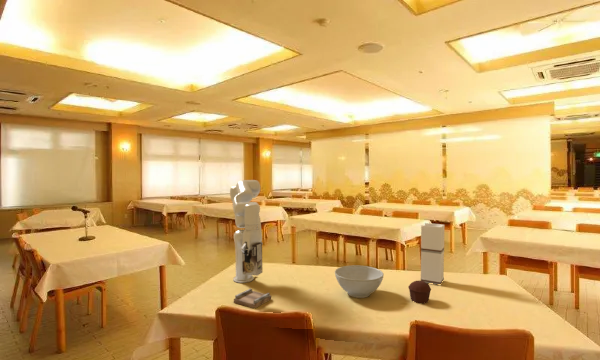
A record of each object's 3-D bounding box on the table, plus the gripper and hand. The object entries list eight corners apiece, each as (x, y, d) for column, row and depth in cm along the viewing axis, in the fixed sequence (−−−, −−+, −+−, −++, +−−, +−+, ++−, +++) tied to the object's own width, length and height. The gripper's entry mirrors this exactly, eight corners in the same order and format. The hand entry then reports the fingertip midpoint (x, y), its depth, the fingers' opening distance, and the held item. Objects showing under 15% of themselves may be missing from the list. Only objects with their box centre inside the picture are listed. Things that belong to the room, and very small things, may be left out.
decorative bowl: (387, 289, 195) (387, 268, 194) (377, 306, 170) (377, 283, 170) (343, 282, 206) (343, 263, 205) (328, 298, 182) (328, 276, 181)
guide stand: (251, 294, 188) (251, 287, 188) (271, 299, 181) (271, 292, 181) (233, 302, 176) (233, 296, 176) (254, 308, 169) (254, 301, 169)
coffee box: (263, 272, 179) (262, 242, 179) (257, 276, 173) (257, 245, 173) (247, 270, 182) (247, 241, 182) (241, 274, 176) (241, 243, 176)
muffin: (419, 306, 171) (419, 286, 170) (403, 298, 181) (403, 280, 180) (435, 301, 176) (436, 283, 176) (419, 294, 186) (419, 276, 186)
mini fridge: (443, 280, 209) (444, 224, 207) (440, 285, 200) (441, 227, 198) (424, 277, 215) (425, 223, 213) (420, 282, 206) (421, 225, 204)
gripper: (257, 224, 186) (257, 256, 187) (235, 229, 172) (235, 263, 172) (267, 225, 182) (268, 257, 183) (246, 230, 168) (246, 265, 168)
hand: (252, 260), depth 178 cm, fingers closed on coffee box, 7 cm apart
